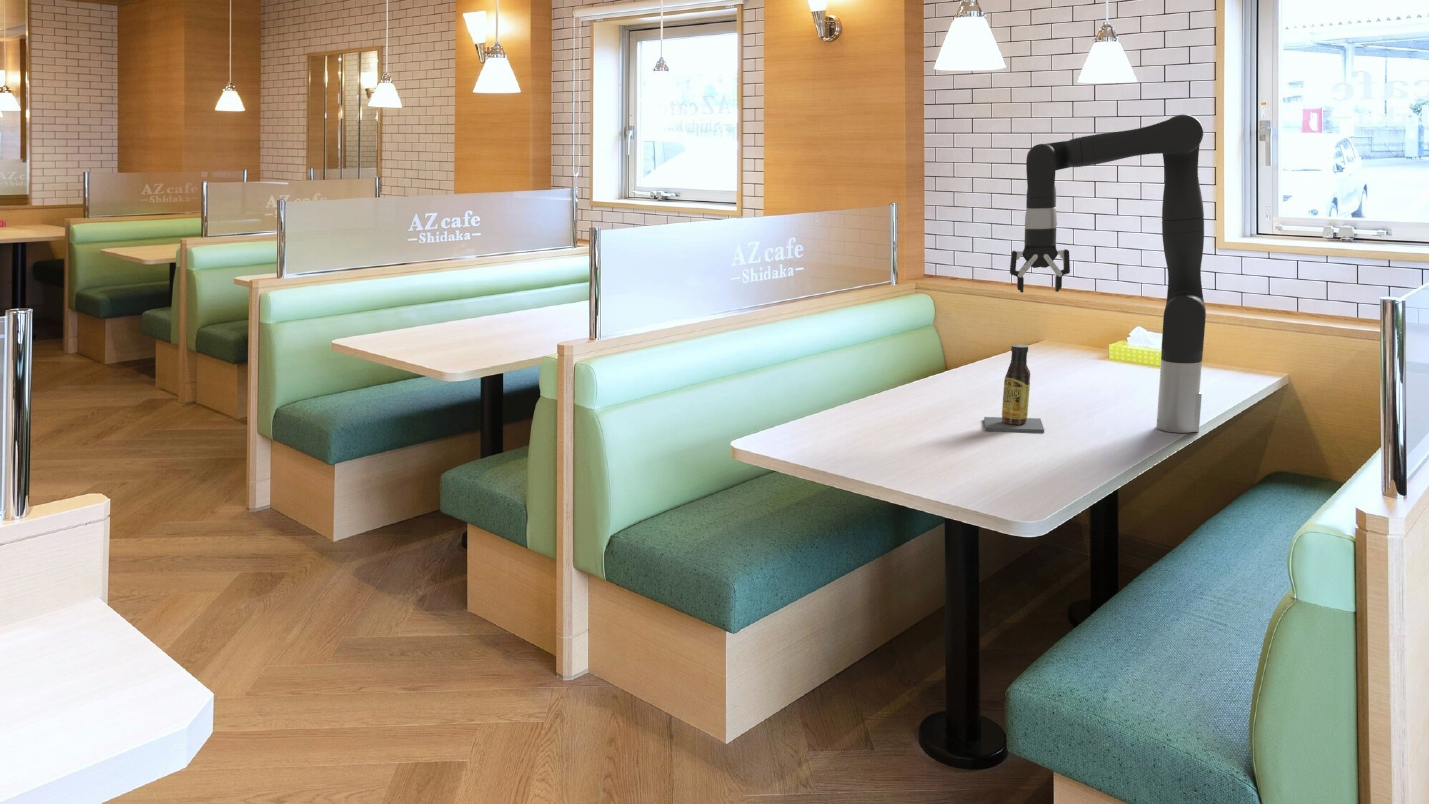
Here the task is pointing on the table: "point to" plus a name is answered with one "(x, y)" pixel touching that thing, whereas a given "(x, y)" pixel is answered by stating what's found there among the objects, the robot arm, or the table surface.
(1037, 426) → the placemat
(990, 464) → the table surface
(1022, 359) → the sauce bottle
